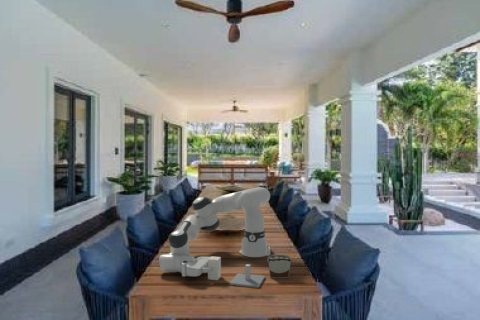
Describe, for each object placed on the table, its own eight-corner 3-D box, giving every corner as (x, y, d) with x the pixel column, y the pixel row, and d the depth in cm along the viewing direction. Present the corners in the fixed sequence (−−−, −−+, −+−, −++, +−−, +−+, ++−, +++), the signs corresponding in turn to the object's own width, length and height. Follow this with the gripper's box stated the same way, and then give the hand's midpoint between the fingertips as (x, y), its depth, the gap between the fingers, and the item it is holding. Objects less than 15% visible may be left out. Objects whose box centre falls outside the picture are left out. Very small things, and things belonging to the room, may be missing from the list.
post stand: (237, 275, 209) (237, 259, 208) (265, 277, 205) (265, 261, 205) (229, 285, 196) (229, 268, 195) (258, 288, 192) (258, 271, 191)
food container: (290, 273, 212) (290, 254, 211) (291, 277, 206) (292, 257, 205) (265, 273, 212) (266, 254, 211) (267, 277, 205) (267, 258, 205)
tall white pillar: (211, 275, 208) (211, 256, 207) (220, 276, 207) (220, 257, 206) (207, 279, 203) (207, 259, 202) (217, 280, 202) (217, 260, 201)
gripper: (196, 264, 218) (221, 266, 215) (180, 277, 199) (208, 280, 195) (196, 252, 218) (221, 254, 214) (180, 264, 198) (208, 267, 195)
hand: (215, 267), depth 204 cm, fingers open, 8 cm apart
